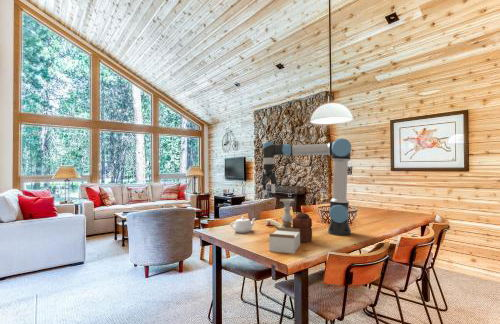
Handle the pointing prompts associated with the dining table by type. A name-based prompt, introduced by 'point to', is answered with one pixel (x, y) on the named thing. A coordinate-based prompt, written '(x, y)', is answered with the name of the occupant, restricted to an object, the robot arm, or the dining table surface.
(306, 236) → the wooden figurine
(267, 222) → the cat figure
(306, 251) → the dining table surface
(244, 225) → the teapot
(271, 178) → the robot arm
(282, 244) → the display plinth
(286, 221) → the candle holder
